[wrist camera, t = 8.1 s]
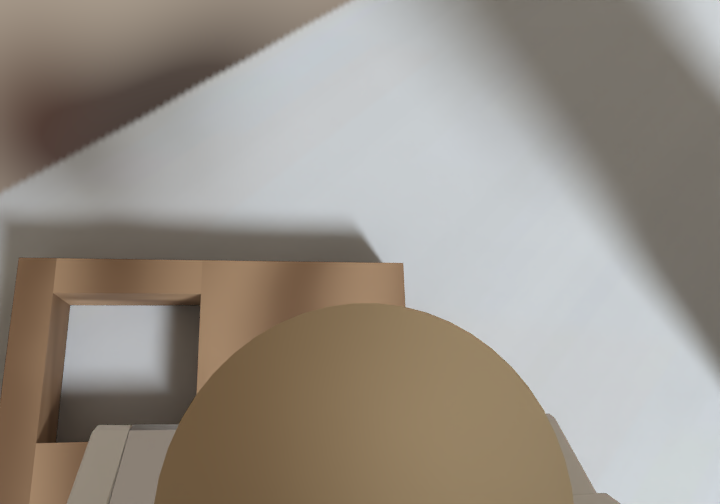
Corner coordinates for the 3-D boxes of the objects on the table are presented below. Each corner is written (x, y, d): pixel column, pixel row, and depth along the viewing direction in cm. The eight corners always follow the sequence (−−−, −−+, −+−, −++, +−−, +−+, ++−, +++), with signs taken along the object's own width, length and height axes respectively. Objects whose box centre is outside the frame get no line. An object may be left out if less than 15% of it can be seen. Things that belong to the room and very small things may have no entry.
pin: (379, 380, 16) (535, 289, 7) (397, 549, 15) (614, 722, 6) (221, 395, 16) (149, 317, 6) (228, 571, 14) (154, 811, 5)
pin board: (392, 276, 31) (403, 263, 29) (404, 550, 28) (417, 561, 25) (38, 272, 29) (19, 257, 26) (2, 574, 25) (-25, 588, 23)
